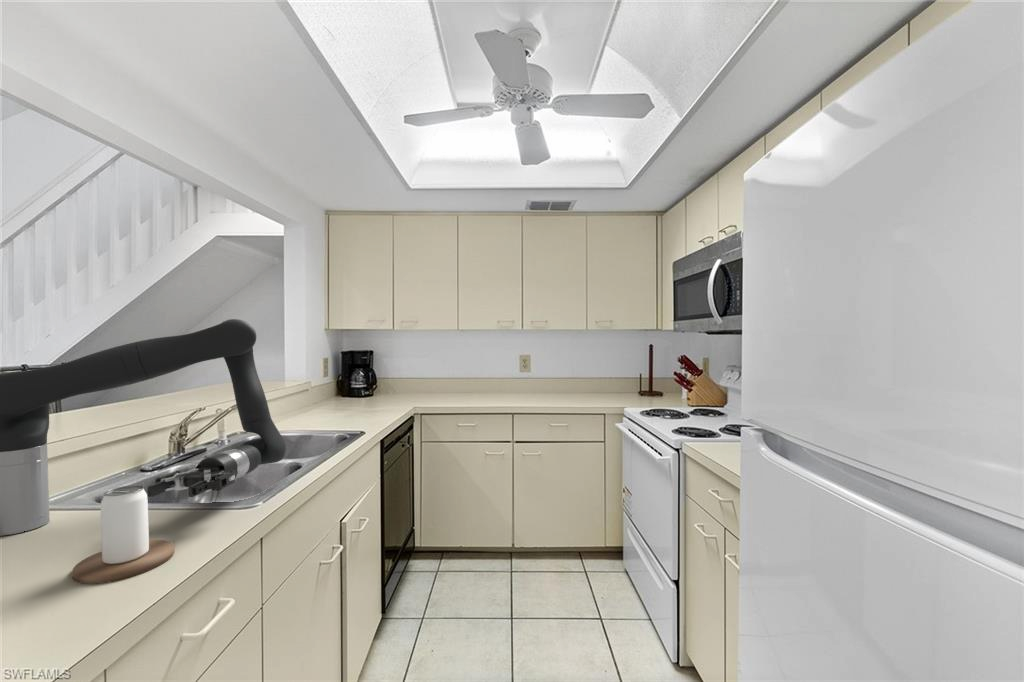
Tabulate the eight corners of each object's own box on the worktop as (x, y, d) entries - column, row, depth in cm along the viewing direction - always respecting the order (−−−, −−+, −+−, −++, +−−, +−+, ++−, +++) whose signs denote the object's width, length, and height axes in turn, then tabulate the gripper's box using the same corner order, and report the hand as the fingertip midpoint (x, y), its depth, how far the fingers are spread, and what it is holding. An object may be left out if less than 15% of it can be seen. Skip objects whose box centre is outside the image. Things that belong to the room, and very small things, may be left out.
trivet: (50, 578, 79) (50, 572, 79) (134, 542, 92) (134, 537, 92) (116, 587, 76) (116, 581, 76) (193, 548, 89) (192, 543, 89)
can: (121, 567, 80) (119, 497, 80) (92, 563, 82) (90, 494, 82) (158, 550, 87) (156, 485, 86) (130, 546, 88) (128, 483, 88)
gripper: (193, 452, 111) (135, 473, 95) (252, 452, 110) (203, 473, 94) (194, 484, 111) (136, 510, 95) (253, 484, 110) (204, 511, 94)
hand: (169, 492), depth 94 cm, fingers open, 8 cm apart
